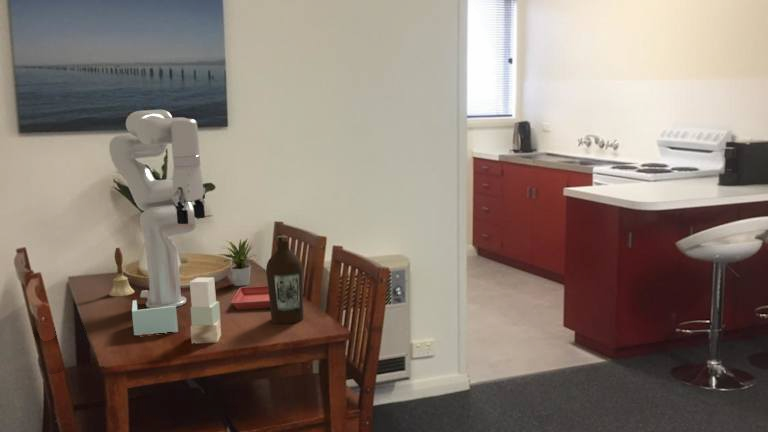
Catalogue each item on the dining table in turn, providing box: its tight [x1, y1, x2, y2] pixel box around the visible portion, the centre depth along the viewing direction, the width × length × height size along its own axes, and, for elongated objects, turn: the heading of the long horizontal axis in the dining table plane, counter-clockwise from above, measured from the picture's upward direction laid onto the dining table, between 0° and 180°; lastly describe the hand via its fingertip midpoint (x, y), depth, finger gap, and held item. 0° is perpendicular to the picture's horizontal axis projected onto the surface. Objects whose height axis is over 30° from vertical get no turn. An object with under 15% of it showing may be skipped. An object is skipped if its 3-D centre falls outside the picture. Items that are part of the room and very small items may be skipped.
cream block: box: [189, 277, 217, 307], centre depth 219 cm, size 5×5×7 cm
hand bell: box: [108, 247, 136, 297], centre depth 273 cm, size 8×8×16 cm
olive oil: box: [265, 235, 304, 325], centre depth 235 cm, size 11×11×25 cm
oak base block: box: [189, 319, 222, 345], centre depth 221 cm, size 7×7×5 cm
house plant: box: [217, 237, 256, 287], centre depth 280 cm, size 14×14×16 cm
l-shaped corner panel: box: [131, 299, 179, 336], centre depth 233 cm, size 12×12×8 cm
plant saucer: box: [230, 285, 270, 310], centre depth 257 cm, size 18×18×3 cm
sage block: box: [190, 300, 221, 325], centre depth 221 cm, size 6×6×5 cm
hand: (191, 220), depth 234 cm, fingers open, 9 cm apart
